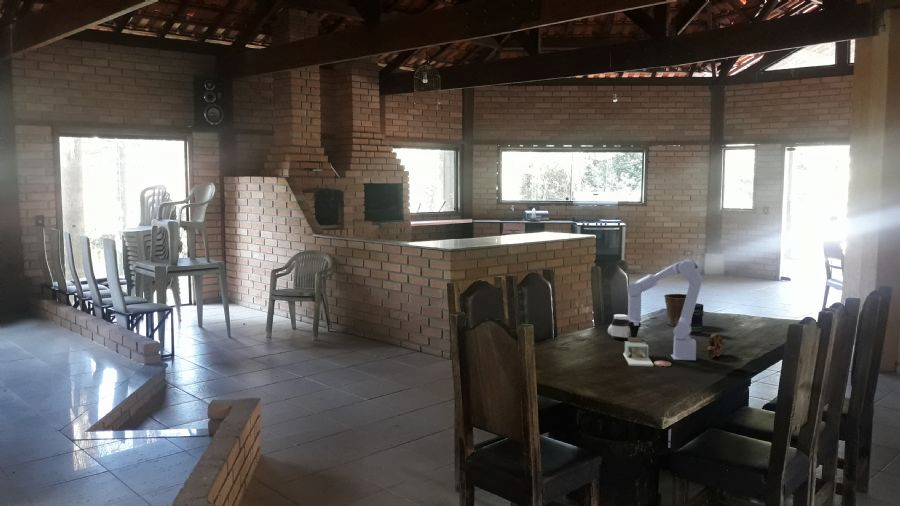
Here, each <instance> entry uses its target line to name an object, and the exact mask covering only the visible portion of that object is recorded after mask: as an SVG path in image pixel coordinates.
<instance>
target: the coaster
mask: <svg viewBox="0 0 900 506" xmlns="http://www.w3.org/2000/svg"><path fill="white" fill-rule="evenodd" d="M653 365H655V366H657V367H662V366H664V367H667V366H668V367H671V366H672V363H671V362H670V361H667V360H656V361H653Z"/></svg>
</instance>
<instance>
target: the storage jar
mask: <svg viewBox="0 0 900 506" xmlns="http://www.w3.org/2000/svg"><path fill="white" fill-rule="evenodd" d="M704 312H705V311H704V304H702V303H697V302H696V305H695V308H694V312H693V315H692V320H691V333H690V334H691V335H690V336H700V335H699V334H701V335H703V329H704V327H703V325H704V324H703V319H704V317H703V316H704Z"/></svg>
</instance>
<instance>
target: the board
mask: <svg viewBox="0 0 900 506" xmlns="http://www.w3.org/2000/svg"><path fill="white" fill-rule="evenodd" d="M623 356H624V358H625V360H626V362H627V364H628V366H631V367H633V366H634V367H654V362H652V360H651V359H650V357H649V356H648V358H647V357H646V356H645V354H644V352H642V358H634V357H631V356H630V352H629V357H627V356H626V354H625V352H623Z"/></svg>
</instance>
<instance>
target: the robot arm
mask: <svg viewBox="0 0 900 506" xmlns="http://www.w3.org/2000/svg"><path fill="white" fill-rule="evenodd" d="M673 274H674V275H679V274H681V276H683V277H684V278H685V279H686V280H687V281H688V283H689V285H688V287H687V292H686V294H687V295H686V299H685V302H684V306H683V310H682V313H681V317H680V319H679V322H678V325H677V326H676V327H674V328H673V335H674V336H673V345H672V346H673V350H672V352H673V353H672V354H670V356H671V358H672V359H673V360H674V361H675V360H676V361H677V360H679V361H680V360H681V361H696V360H697V341H696V339H695V338H692V337H691V335H689V334H690V333H691V320H692V315H693V312H694V308H695V305H696V303H697V301H698V298H699V293H700V291H701V286H702V283H703V278H702V276H701V273H700V269H699V266H698V264H697V263H696V262H695V261H694V259H691V258H686V259H684V260H683V261H679V262H676V263H674V264H671V265H670V266H668V267H666V268H664V269H662V270H660V271H659V272H658V273H655V274H651V273H649V274H648V273H647V274H644V276H643V277H642V278H640V279H636V280H635V282H631V283H630V284H629V285H628V286H627V289H626V290H627V293H628V299H627V300H628V301H627V304H628V305H627V310H628V311H627V315H628V318H625V320H629V322H627V323H628V325H629V328H630V334H629V335H630V338H638V337H637V336H638V333H639V330H640V328H641V325H642V324H641V321H642V293H643V292H646V291H648V290H650V289H652V288H654V287H656V286H657V284H658V282H659V281H660V280H662V279H665V278H667V277H668V276H670V275H673Z"/></svg>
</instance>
